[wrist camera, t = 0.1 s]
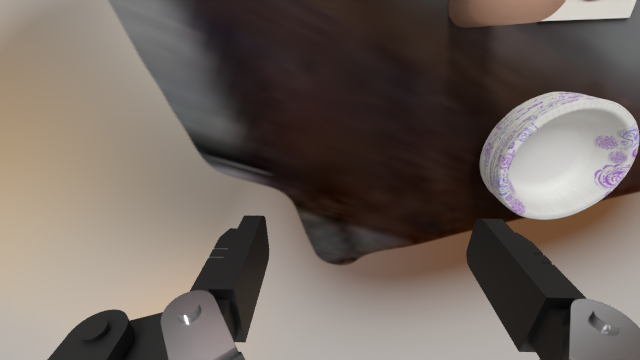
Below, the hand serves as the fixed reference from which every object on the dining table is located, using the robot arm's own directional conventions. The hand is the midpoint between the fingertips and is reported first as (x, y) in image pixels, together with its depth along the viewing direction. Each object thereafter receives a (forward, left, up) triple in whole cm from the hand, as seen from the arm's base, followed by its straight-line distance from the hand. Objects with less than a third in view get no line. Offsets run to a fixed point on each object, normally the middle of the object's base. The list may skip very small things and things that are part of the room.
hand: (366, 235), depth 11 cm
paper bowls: (+7, +26, -29) cm, 40 cm away
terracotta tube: (-10, +15, -29) cm, 34 cm away
